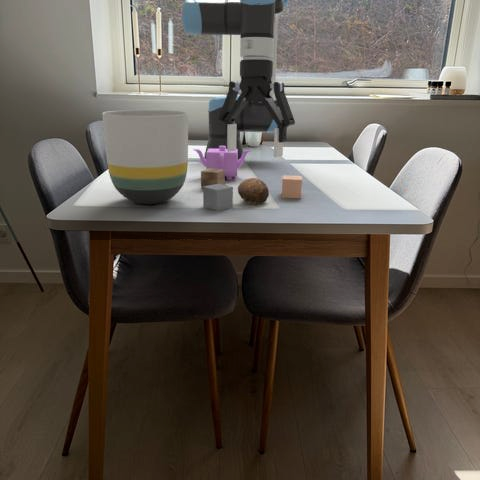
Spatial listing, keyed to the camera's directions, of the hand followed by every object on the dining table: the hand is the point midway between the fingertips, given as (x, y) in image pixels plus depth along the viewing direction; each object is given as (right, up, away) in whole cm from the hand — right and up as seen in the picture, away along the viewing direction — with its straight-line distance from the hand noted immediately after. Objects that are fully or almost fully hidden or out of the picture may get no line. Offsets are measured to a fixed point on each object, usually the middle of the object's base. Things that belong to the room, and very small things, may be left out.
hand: (254, 153), depth 111 cm
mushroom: (0, -12, +4) cm, 12 cm away
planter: (-26, -11, +3) cm, 28 cm away
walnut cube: (-11, -6, +19) cm, 23 cm away
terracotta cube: (+10, -9, +11) cm, 18 cm away
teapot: (-9, -1, +33) cm, 34 cm away
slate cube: (-9, -13, 0) cm, 16 cm away
